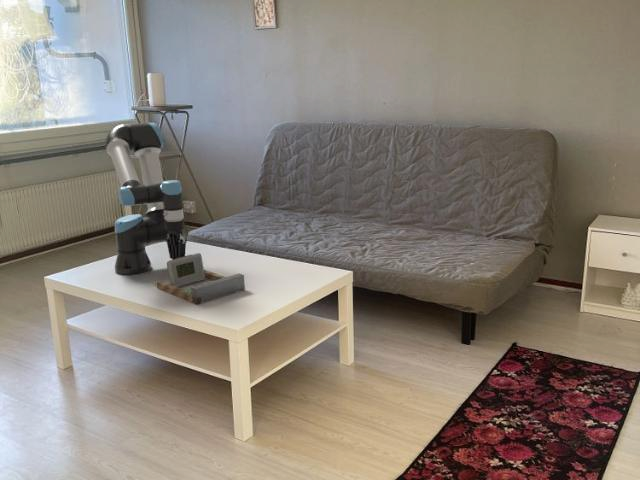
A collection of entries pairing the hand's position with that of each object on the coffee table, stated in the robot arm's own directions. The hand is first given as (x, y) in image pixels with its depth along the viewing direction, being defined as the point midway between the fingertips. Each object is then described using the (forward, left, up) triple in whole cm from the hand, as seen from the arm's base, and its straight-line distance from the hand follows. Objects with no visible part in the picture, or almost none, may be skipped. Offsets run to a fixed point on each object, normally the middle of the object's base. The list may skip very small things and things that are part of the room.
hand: (178, 276), depth 257 cm
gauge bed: (+15, 0, -2) cm, 15 cm away
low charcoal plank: (+27, 0, -2) cm, 27 cm away
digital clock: (+5, 0, -2) cm, 5 cm away
